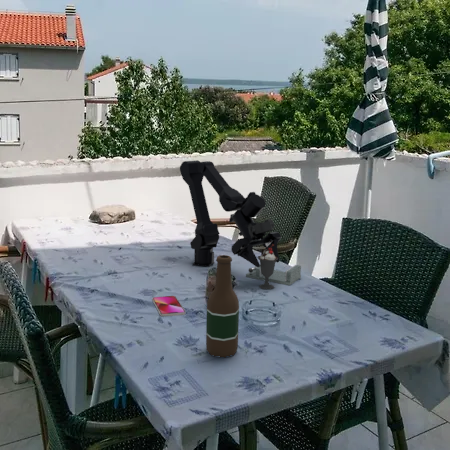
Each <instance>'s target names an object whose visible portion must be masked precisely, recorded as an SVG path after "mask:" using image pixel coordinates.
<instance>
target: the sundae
mask: <svg viewBox="0 0 450 450" xmlns="http://www.w3.org/2000/svg"><path fill="white" fill-rule="evenodd" d="M272 245H273V244H272ZM273 246H274V245H273ZM277 259H278V257H275V255H274V253H273V251H272V248H271V247H270V248H269V249H266V250H265V249H262V250H261V255H259V256H257V260H258V261H259V264H260V267H261V273H262V275H263V276H264V277H265V280H264V283H262V284H260V285H258V287H259V288H260V289H262V290H272V289H274V288H275V286H274V285H272V284H270V281H269V277H270V276H271V275H272V274H273V272H274V270H275V267H276V263H277V262H276V260H277Z"/></svg>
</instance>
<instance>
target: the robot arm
mask: <svg viewBox="0 0 450 450" xmlns="http://www.w3.org/2000/svg"><path fill="white" fill-rule="evenodd" d="M179 171H180V175H181V178H182V180H183V181H184V182H185V183H186V185H187V186H188V189H189V192H190V197H191V198H190V199H191V202H192V206H193V210H194V214H195V215H194V216H195V219H196V226H195V228H194V238H193V239H192V240H191V241H190V244H189V245H190V248H191V249H192V250H194V252H193V253H194V260H193V261H194V262H192V266H199V267H200V266H201V267H211V265H213V264H214V263H215V252H214V248H217V246H218V242H219V240H220V230H219V226H218V224H217V223H213V222H212V220H211V218H210V213H209V212H210V211H209V209H208V203H207V200H206V194H205V191H204V187H203V179H204V178H205V179H206V180H207V182H208V183H209V184H210V185H211V187H212V189H214V191H215V192H216V193H217V195H218V202H219V204H220V205H221V208H222V209H223V210H224V211H225V212H227V213H228V212H234V211H235V212H234V213H230V217H229V219H228V222H229V223H234V224H235V225H236V226H237V228H238V230H239V232H238V235H239V237H241V236H242V238H238V239H237V240H236V241H235V242H234V243H233V244H232V245H231V249H230V250H231V252H232V253H233V255H234V256H235V255H236V256H237V257H240V258H242V259H244V260H246V261H248V262H249V263H250V264H252V265H253V266H254V267H255V266H256V267H259V266H260V261H259V259H258V257H257V256H256V254H255V252H254V250H253V249H254V248H253V247H255V246H260V245H262V246H263V247H264V248H265V249H264V250H266V249H269V248H270V247H271V248H272V251H273V253H274V255H275V257H278V259H277V260H276V263H277V264H278V263H280V256H279V250H278V243H279V242H280V241H281V239H282V236H281V234H280V233H279V232H278V231H273V228H275V222H274V221H273V219H272V218H268V219H266V220H264V221H263V222H257V221H256V222H255V221H254V219H253V218H255V217H257V216H258V215H259V214H260V212H261V211H262V210H263V209H264V208H265V207H266V205H267V204H266V200H265V198H264V197H262V196H261V195H259V194H257V193H256V191H251V192H249V193H248V194H247V196H246V197H244V196H243V194H242V193H241V192H239V191H238V190H237V189H235V188H233V187H231V186H230V185H229V183H228V182H227V181H226V180H225V178H224V177H223V176H222V174H220V172H219V171H218V169H217V168H216V167H215V164H214V162H212V161H210V160H207V161H199V160H184V161H182V162H181V165H180V166H179ZM268 232H269V233H268ZM264 236H265V237H264ZM272 244H273V245H274V246H273V245H272Z"/></svg>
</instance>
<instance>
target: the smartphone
mask: <svg viewBox="0 0 450 450" xmlns="http://www.w3.org/2000/svg"><path fill="white" fill-rule="evenodd" d="M151 300H152V302H153V304H154V306H155V308H156V310H157V312H158V314H159V315H160V316H161V317H165V318H166V317H173V316H174V317H175V316H184V315H186V309H185V308H184V307H183V306H182V304H181V302H180V301H179V300H178V298H177V297H176V296H175V295H165V296H164V295H163V296H154V297H152V299H151Z"/></svg>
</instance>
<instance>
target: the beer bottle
mask: <svg viewBox="0 0 450 450" xmlns="http://www.w3.org/2000/svg"><path fill="white" fill-rule="evenodd" d="M232 261H233V259H232V256H229V255H226V254H223V255H222V254H221V255H218V256H217V257H216V260H215V262H217V264H216V272H215V273H216V275H215V284H214V289H213V291H211V293H210V294H209V297H208V299H207V301H206V303H207V304H206V324H205V325H206V327H205V328H206V331H205V332H206V333H205V334H206V335H205V346H206V352H207V351H208V352H209V355H211V356H212V355H214V356H213V357H215V356H220V357H219V358H221V357H224V358H227V357H226V356H229V357H231V356H230V355H233V356H235V353H236V352H237V351H238V346H239V325H240V324H239V321H240V319H239V318H240V302H239V299H238V295H237V294H236V292H235V290H234V289H233V284H232ZM208 352H207V353H208Z"/></svg>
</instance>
